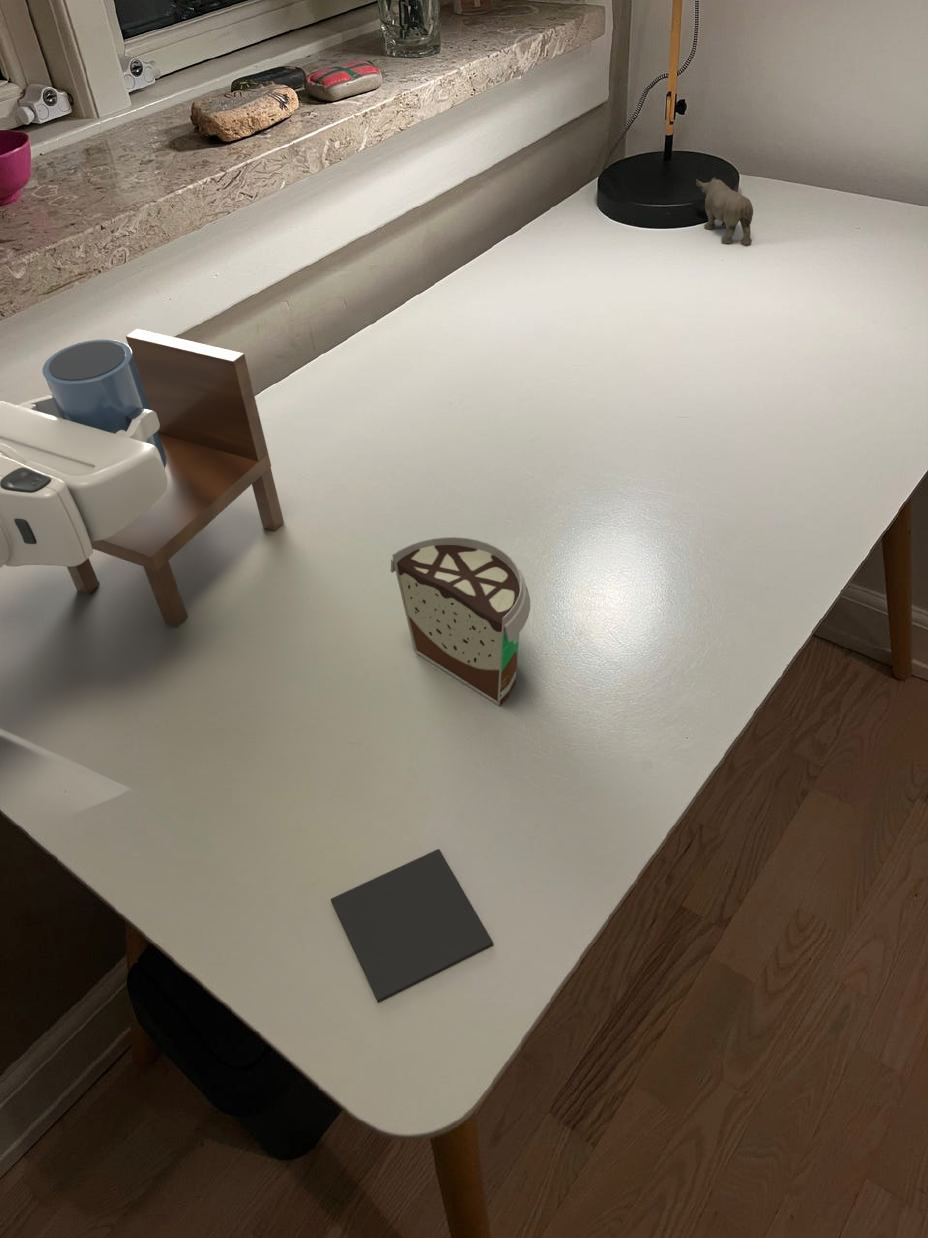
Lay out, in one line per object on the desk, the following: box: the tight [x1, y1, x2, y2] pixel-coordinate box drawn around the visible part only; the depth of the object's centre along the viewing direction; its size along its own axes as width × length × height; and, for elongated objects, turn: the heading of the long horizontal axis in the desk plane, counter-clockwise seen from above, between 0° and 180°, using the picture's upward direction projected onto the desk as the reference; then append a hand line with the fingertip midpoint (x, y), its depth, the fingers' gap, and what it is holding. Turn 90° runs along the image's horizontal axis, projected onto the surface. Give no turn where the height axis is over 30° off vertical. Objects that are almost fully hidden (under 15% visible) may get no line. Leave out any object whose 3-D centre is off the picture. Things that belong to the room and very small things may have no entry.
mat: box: [330, 848, 494, 1003], centre depth 67 cm, size 8×8×1 cm
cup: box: [41, 339, 167, 468], centre depth 82 cm, size 7×7×10 cm
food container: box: [390, 536, 531, 707], centre depth 80 cm, size 12×6×10 cm, turn 47°
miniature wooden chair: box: [66, 328, 285, 628], centre depth 90 cm, size 16×12×18 cm
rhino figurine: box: [695, 177, 754, 246], centre depth 137 cm, size 4×14×6 cm, turn 18°
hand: (113, 406), depth 82 cm, fingers closed on cup, 7 cm apart
